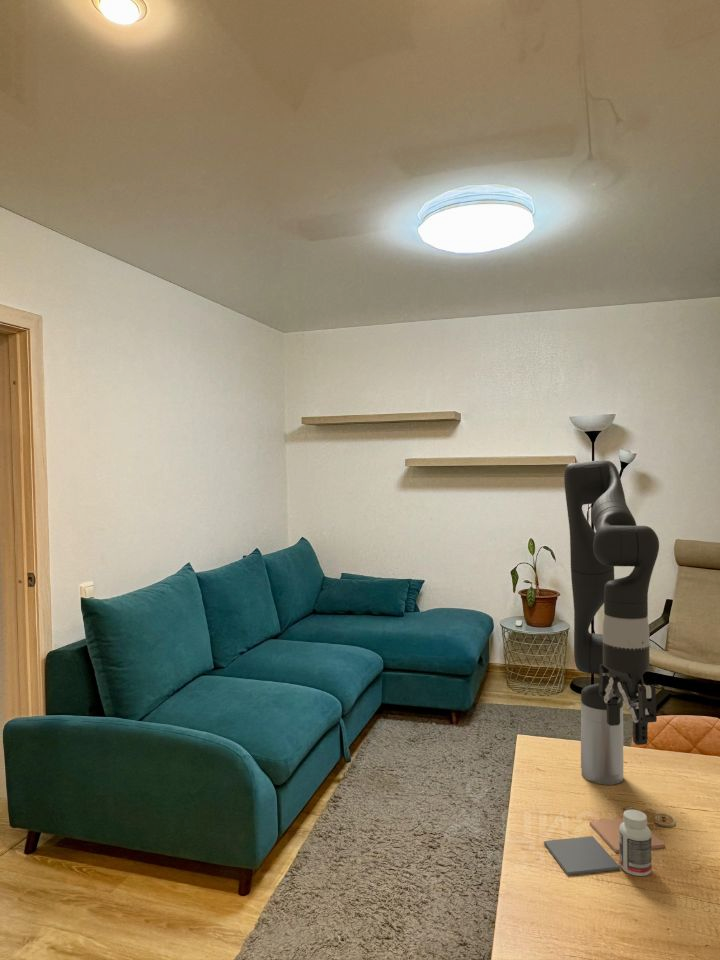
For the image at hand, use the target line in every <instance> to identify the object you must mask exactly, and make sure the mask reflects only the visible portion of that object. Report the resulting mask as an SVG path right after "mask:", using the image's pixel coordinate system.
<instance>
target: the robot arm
mask: <svg viewBox="0 0 720 960" xmlns="http://www.w3.org/2000/svg"><path fill="white" fill-rule="evenodd" d="M563 477H564V478H563V481H564V482H563V483H564V493H565V502H566V510H567V520H568V526H569V527H568V529H569V548H570V551H569V553H570V554H569V555H570V573H571V574H570V576H571V577H570V578H571V589H572V599H573V602H572V603H573V612H574V613H573V616H574V617H573V626H574V627H573V659H574V664H575V667H576V669H577V670H578V671H579V672H581V673H585V674H592V675H599V676H598V677H599V679H598V682H597V683H594V684H590V685H586V686H585V687H583V688H582V689H581V692H580V701H581V702H580V714H581V715H580V717H581V718H580V720H581V721H580V724H581V726H580V727H581V729H580V769H581V776H582V777H583V778H584V779H586V780H587V781H590V782H592V783H595V784H598V785H606V786H608V785H609V786H610V785H611V786H612V785H613V786H614V785H618V784H620V783H622V782H623V781H624V704H625V708H626V709H627V710H629V711H630V715H631V717H632V742H633V743H634V744H635V745H636V746H643V745H647V743H648V733H649V731H648V724H649V723H656V722H657V719H658V717H657V695H656V694H657V693H656V687H655V685H654V684H645V681H644V676H643V675H644V674H645V673H646V672H648V671H649V670H650V624H649V617H648V615H649V614H648V613H649V609H648V608H649V607H648V606H649V605H648V603H649V601H648V598H649V596H648V595H649V588H650V582H651V578H652V575H653V571H654V568H655V565H656V562H657V559H658V555H659V550H660V540H659V537H658V535H657V533H656V532H655V530H654V529H652V527H650V526H648V525H637V522H636V519H635V518H634V515H633V514H632V512H631V510H630V509H629V507H628V505H627V501H626V496H625V492H624V487H623V483H622V479H621V476H620V472H619V470H618V467H617V466H616V465H615V463H614V462H612V461H610V460H591V461H590V460H589V461H580V462H572V463H569V464H567V465H566V466H565V469H564V476H563ZM585 505H593V506H591V507H592V508H591V513H590V518H591V521H592V524H593V527H594V529H595V530H594V529H593V527H592V526H591V524H590V523H589V522H588V520H587V518H586V516H585V513H584V511H583V506H585ZM615 567H633V569H632V571H630V574H629V575H627V576H625V577H620V578H615ZM602 606H603V613H604V614H603V621H602V633H593V632H592V633H591V632H590V631H589V629H590V627H591V624H592V622H593V620H594V619H595V616H596V614H597V613H598V612H599V610H600V609H601V608H602ZM637 701H638V702H637ZM648 709H649V711H648ZM637 710H638V711H637Z"/></svg>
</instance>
